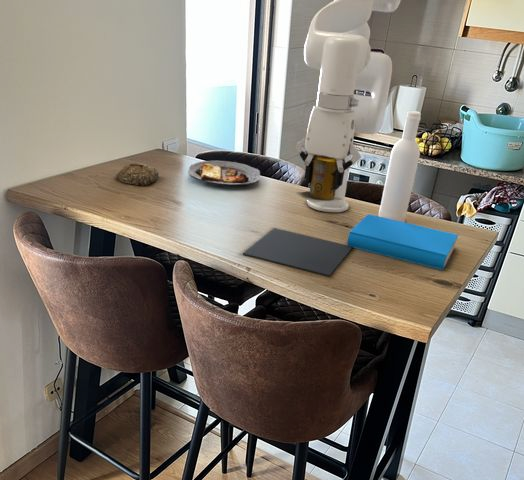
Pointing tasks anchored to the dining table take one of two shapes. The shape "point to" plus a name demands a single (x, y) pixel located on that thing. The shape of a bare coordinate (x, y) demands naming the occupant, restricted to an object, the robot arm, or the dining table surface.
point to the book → (403, 241)
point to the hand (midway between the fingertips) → (322, 184)
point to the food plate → (224, 172)
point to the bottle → (401, 171)
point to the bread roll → (137, 174)
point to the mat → (299, 251)
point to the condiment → (322, 180)
